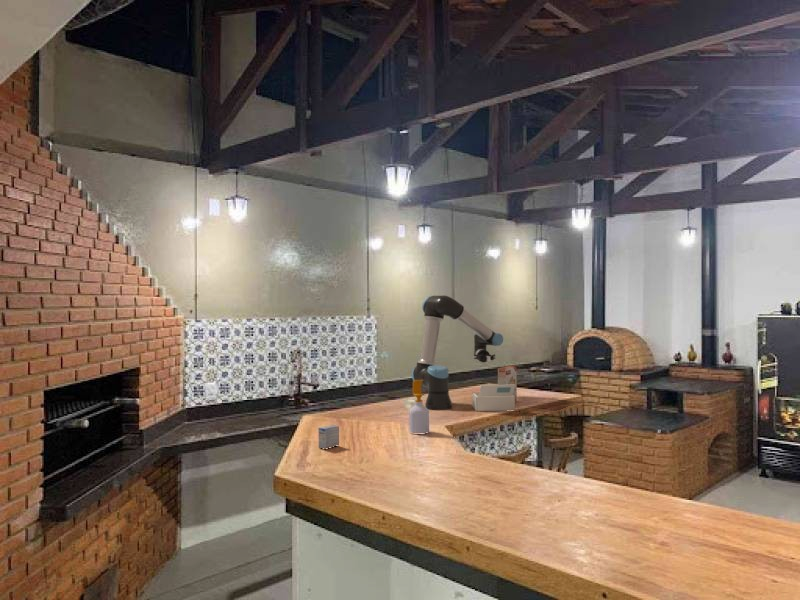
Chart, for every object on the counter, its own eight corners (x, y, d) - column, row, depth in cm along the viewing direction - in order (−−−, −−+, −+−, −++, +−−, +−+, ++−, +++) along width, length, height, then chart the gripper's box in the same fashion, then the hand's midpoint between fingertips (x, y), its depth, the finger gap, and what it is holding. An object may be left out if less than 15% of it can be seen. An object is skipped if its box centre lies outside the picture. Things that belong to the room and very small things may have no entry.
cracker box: (506, 404, 335) (506, 368, 335) (497, 403, 338) (496, 368, 339) (517, 401, 346) (517, 366, 346) (508, 400, 350) (507, 365, 350)
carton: (476, 411, 315) (476, 396, 315) (472, 406, 331) (471, 392, 332) (515, 410, 315) (515, 396, 315) (509, 405, 332) (508, 391, 332)
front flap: (478, 395, 314) (478, 396, 314) (480, 385, 307) (480, 385, 307) (512, 395, 315) (512, 396, 314) (515, 384, 307) (515, 385, 307)
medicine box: (332, 444, 246) (331, 424, 246) (339, 446, 243) (339, 425, 243) (318, 448, 240) (318, 427, 240) (325, 450, 237) (325, 429, 237)
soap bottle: (412, 435, 261) (412, 381, 261) (407, 431, 270) (406, 378, 270) (431, 434, 263) (430, 380, 263) (425, 429, 272) (424, 377, 272)
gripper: (493, 361, 352) (500, 365, 328) (472, 361, 352) (477, 365, 328) (493, 349, 352) (500, 352, 328) (472, 349, 352) (477, 352, 328)
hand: (489, 359), depth 328 cm, fingers closed
